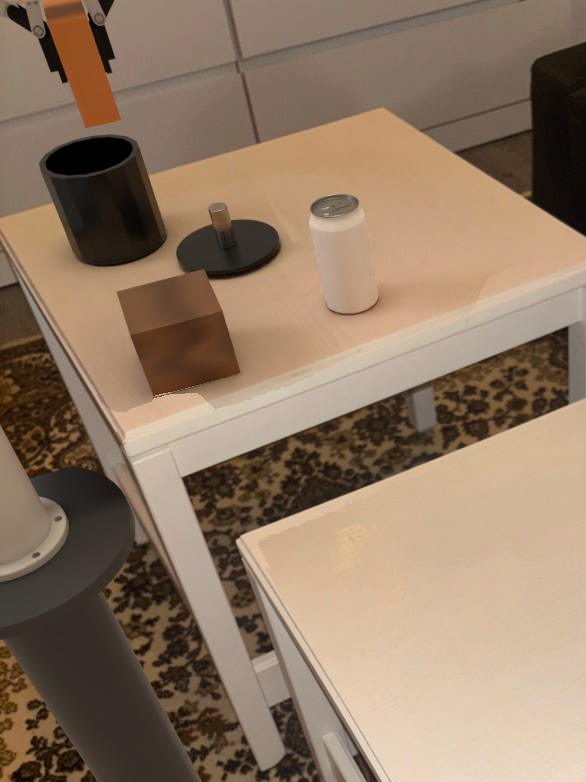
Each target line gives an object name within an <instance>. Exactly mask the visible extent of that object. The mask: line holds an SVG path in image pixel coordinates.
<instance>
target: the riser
mask: <svg viewBox="0 0 586 782" xmlns="http://www.w3.org/2000/svg"><path fill="white" fill-rule="evenodd" d="M116 295H117V298H118V301H119V305H120V307H121V311H122V315H123V317H124V320H125V325H126V327H127V330H128V333H129V336H130V339H131V342H132V345H133V347H134V350H135V352H136V355H137V357H138V360H139V363H140V365H141V368H142V371H143V373H144V376H145V378H146V381H147V383H148V387H149V389H150V392H151V395H152V396H155V395H159V394H163V393H168V392H173V391H177V390H180V391H182V390H181V389H184V390H186V389H185V388H188V387H191V388H193V387H192V386H195V387H197V386H196V385H198V386H201V385H200V384H202V385H205V384H208V383H207V382H209V383H212V382H215V380H216V381H218V379H219V380H222V379H221V378H223V379H226V378H229V377H232V375H233V376H236V375H239V373H240V374H241V373H242V372H241V368H240V365H239V362H238V358H237V355H236V351H235V349H234V344H233V341H232V339H231V334H230V331H229V328H228V325H227V322H226V321H227V320H226V318H225V315H224V312H223V308H222V306H221V304H220V302H219V300H218V297H217V295H216V293H215V290H214V289H213V286H212V283H211V282H210V279H209V277H208V275H206V272H205V270H204V269H202V270H198V271H194V272H191V271H189V272H187V273H182V274H179V275H176V276H171V277H166V278H164V279H160V280H156V281H152V282H148V283H144V284H140V285H136V286H133V287H129V288H125V289H121V290H117V291H116ZM211 381H212V382H211ZM204 383H205V384H204ZM188 389H189V388H188ZM177 392H178V391H177ZM173 393H174V392H173Z"/></svg>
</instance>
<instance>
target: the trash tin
mask: <svg viewBox="0 0 586 782" xmlns="http://www.w3.org/2000/svg"><path fill="white" fill-rule="evenodd" d="M38 166H39V170H40V174H41V176H42V178H43V181H44V183H45V186H46V189H47V191H48V193H49V195H50V198H51V200H52V203H53V206H54V208H55V210H56V213H57V215H58V218H59V220H60V223H61V225H62V228H63V230H64V233H65V235H66V237H67V240H68V243H69V245H70V248H71V250H72V253H73V254H74V256H75V257H76V259H78V260H79V261H82V262H83V263H87V264H90V265H97V266H98V265H99V266H100V265H101V266H104V265H106V266H108V265H118V264H123V263H128V262H130V261H133V260H134V261H135V260H138V259H139V258H142V257H144V256H146V255H149V254H150V253H152V252H153V251H155V250H157V249H158V248H159V247H160V246H161V245H162V244H163V243H164V241H165V239H166V237H167V229H166V226H165V222H164V219H163V217H162V213H161V210H160V207H159V204H158V201H157V197H156V195H155V192H154V188H153V185H152V182H151V179H150V176H149V173H148V169H147V167H146V164H145V161H144V158H143V155H142V151H141V148H140V146H139V143H138V141H137V140H135V139H133V138H131V137H130V136H127V135H120V134H113V133H111V134H110V133H108V134H95V135H89V136H85V137H80V138H75V139H73V140H70V141H67V142H65V143H62V144H60V145H58V146H55V147H54V148H53V149H51V150H50V151H48V152H47V153H45V154H44V155H43V156H42V158H41V159H40V161H39V162H38Z"/></svg>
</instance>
